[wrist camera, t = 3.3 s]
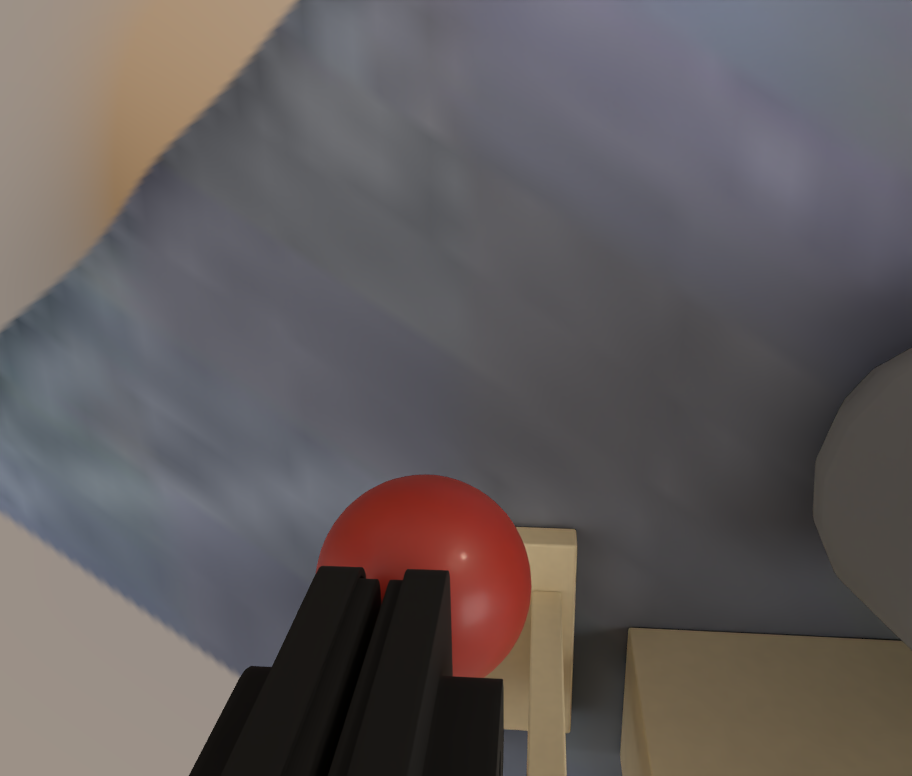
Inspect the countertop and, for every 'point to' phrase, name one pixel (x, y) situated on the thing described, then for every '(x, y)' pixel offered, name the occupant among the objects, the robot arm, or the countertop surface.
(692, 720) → the toaster
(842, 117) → the countertop surface
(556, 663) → the lever bracket
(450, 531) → the red knob lever
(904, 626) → the cup
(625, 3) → the countertop surface
